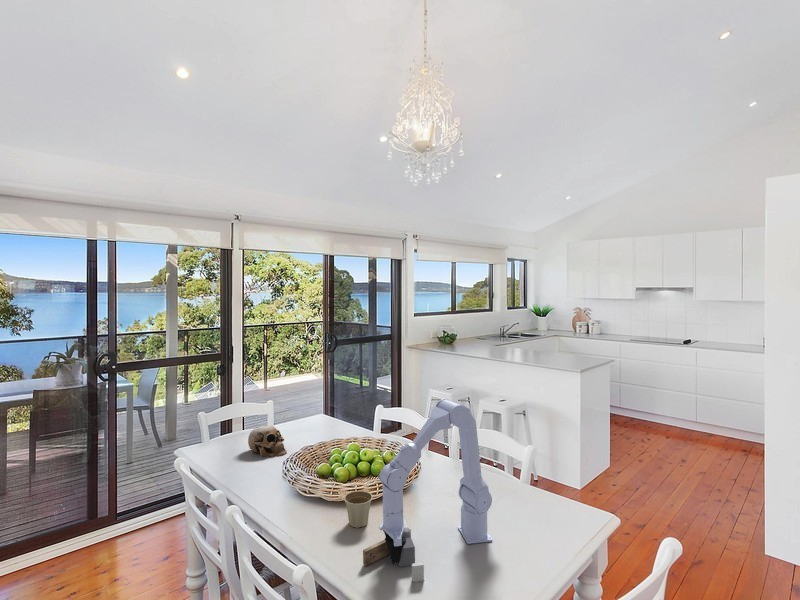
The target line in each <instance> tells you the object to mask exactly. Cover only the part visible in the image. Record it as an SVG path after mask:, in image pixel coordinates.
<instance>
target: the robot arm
mask: <svg viewBox="0 0 800 600" xmlns="http://www.w3.org/2000/svg"><path fill="white" fill-rule="evenodd" d="M452 425H453V426H454V427H456V428H457V429H458V434H459V443H460V444H459V445H460V454H461V463H462V472H463V477H461V478H460V480H459V483H460V484H459V489H458V496H459V498H460V499H461V500H462V504H461V507H460V525H458V526H457V529H458V530H459V532H460V533H461V534H460V535H461V536H462V537H463V539H464V541H465V542H466V544H468V545H470V544H471V545H472V544H480V543H487V542H488V543H489V542H493V538H492V537H491V535H490V533H489V532H488V512H489V509H490V508H491V507H492V503H493V496H492V494H491V493H490V490H489V485H488V483H487V482H486V480H485V479H484V478H483V477H482V466H481V458H480V449H479V438H478V430H477V421H476V419H475V417H474V416H473V415H472V413H471V409H470V408H468V407H467V406H465V405H463V404H459V403H457V402H454V401H451V400H450V399H448V398H442V399H439V400H438V401H437V402H436V404H435V406H433V407H432V409H431V412H430V416H429V417H428V418H427V420H426V421H425V423H424V424H423V426H422V428H420V430H419V431H418V432H417V434H416V436H415V437H414V439H413V440H412V442H406V443H404V445H401V447H400V448H399V449H400V450H399V451H398V453H397V454H396V455H395V457H394V458H393V459H392V460H390V462H389V463H387V464H385V465H383V467H382V468H381V470H380V473H379V474H378V479H379V481H380V482H381V483H382V517H383V518H382V520H383V521H382V522H383V523H380V524H378V528H379V530H380V531H382V532H383V533H384V535H385V538H384V539H385V541H386V544H387V546H388V550H389V553H390V554H389V557H390V561H391V563H392V565H394V564H398V563H399V562H400V558H401V553H402V549H403V547H404V545H405V543H406V538H405V537H402V533H403V530H404V519H403V515H404V487H405V486H406V484H407V481H408V477H409V474H410V472H411V471H412V470H413V468H414V467H415V466H416V465H417V463H418V462H419V461H420V459H421V458H422V450H423V448H425V446H427V444H428V443H429V442H430V441H431V440H432V439H433V438H434V436H436V434H437V433H438V432H439V431H441V430H447V429H452V428H453V427H452Z"/></svg>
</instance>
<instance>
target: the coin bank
mask: <svg viewBox="0 0 800 600" xmlns="http://www.w3.org/2000/svg"><path fill="white" fill-rule="evenodd" d="M284 441H285V439H284V437H283V436H282V434H281V432H280V430H279V429H277V428H276V427H275V426H273V425H261V426H258V427H256V428H253V429H252V430H251V431H250V433H249V435H248V440H247V442H248V448H249V449H250V450H251V451H252V452H253V453H255V454H259V455H260V456H261V457H266V456H272V457H273V456H277V457H280V456H281V455H282V456H285V455H287V450H286V448H285V444H284V443H283V442H284Z"/></svg>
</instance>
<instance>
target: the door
mask: <svg viewBox="0 0 800 600" xmlns="http://www.w3.org/2000/svg"><path fill="white" fill-rule="evenodd" d="M388 555H390V553H389V550H388V546H387V544H386V541H385V538H384V539H382V540H381V541H379V542H376V543H375V544H373V545H370V546H368V547H366V548H364V549H363V550H362V561H363V563H362V565H364V566H365V567H367V566H369V565H371V564H372V563H374V562H376V561H378V560H380V559H382V558H384V557H386V556H388Z"/></svg>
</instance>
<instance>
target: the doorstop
mask: <svg viewBox="0 0 800 600" xmlns="http://www.w3.org/2000/svg"><path fill="white" fill-rule="evenodd" d="M413 563H416V548H415V545H414V542H413V539H412V537H411V538H407V539H406V543H405V545H404V547H403V549H402V553H401V558H400V562H399V563H397V565H398V568H401V567H402V568H403V567H409V566H412V564H413Z"/></svg>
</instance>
